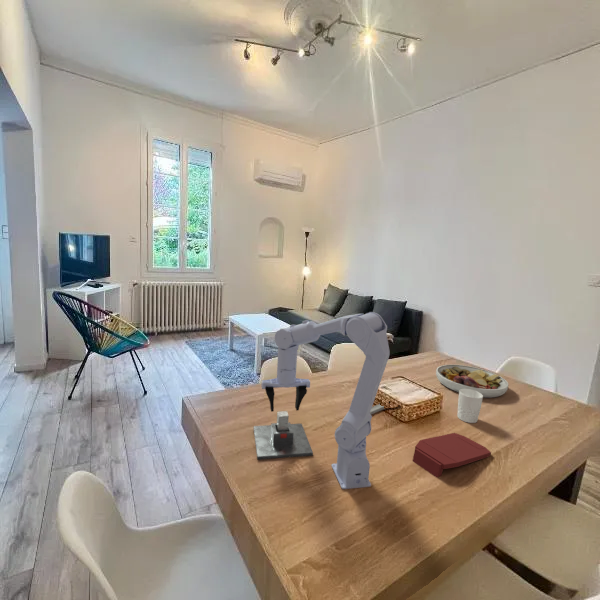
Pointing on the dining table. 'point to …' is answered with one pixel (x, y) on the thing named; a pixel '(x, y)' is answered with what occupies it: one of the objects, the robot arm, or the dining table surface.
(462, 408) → the white cup
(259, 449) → the stand
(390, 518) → the dining table surface
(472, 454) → the dark red bent panel
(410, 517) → the dining table surface
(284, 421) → the post
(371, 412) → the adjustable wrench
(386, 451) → the dining table surface
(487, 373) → the bowl
